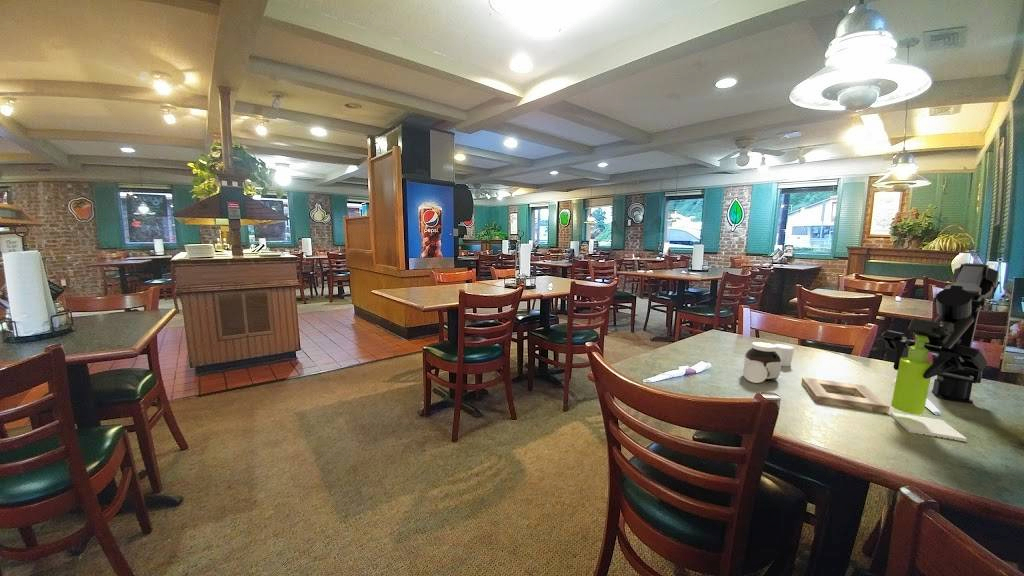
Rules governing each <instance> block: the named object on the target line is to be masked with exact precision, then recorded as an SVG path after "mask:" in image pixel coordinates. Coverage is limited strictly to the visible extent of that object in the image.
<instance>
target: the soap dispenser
mask: <svg viewBox="0 0 1024 576" xmlns="http://www.w3.org/2000/svg"><path fill="white" fill-rule="evenodd" d="M914 334H915V333H914ZM915 337H916V338H915ZM915 337H914V338H915V340H914V341H915V346H910V347H909V352H908V357H904V358H900V362H899V367H898V370H897V373H896V379H895V383H894V390H893V394H892V399H891V404H890V406H891V407H892V408H894V409H895V410H898V411H901V412H903V413H906V414H907V413H908V414H910V415H923V414H924V411H925V408H926V401H927V399H928V392H929V388H930V383H931V378H932V377H930V378H928V379H925V378H924V377H923V375H924V373H925V372H926V370H927V369H928V368H929V367H930V366H931V365H932V364H933V362H930V361H927V360H928V357H929V356H928V355H929V352H928V351H929V350H928V349H926V348H925V347H924V346H925V342H927V343H929V339H928V337H927V336H925V335H917V334H915Z"/></svg>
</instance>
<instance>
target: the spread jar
mask: <svg viewBox="0 0 1024 576" xmlns="http://www.w3.org/2000/svg"><path fill="white" fill-rule="evenodd" d="M773 344H774V343H773ZM773 344H772V343H769V342H763V341H762V342H761V341H753V342H752V343H751V348H750V349H748V350H747V351H746V352H745V355H744V360H743V361H744V362H743V367H742V375H743V376H744V378H745V379H746V380H747V381H749V382H751V383H754V384H759V383H763V382H773V381H775V380H777V379H778V378H779V377H780V374H781V369H782V366H781V358H780V356H779V355H778V354H777V353H776V346H775V345H773Z"/></svg>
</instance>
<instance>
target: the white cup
mask: <svg viewBox="0 0 1024 576" xmlns="http://www.w3.org/2000/svg"><path fill="white" fill-rule="evenodd" d="M773 345H775V346H776V353H777V354H778V355H779V356H780V358H781V367H791V365H792V361H793V357H794V351H795V346H793V345H789V344H783V343H773Z"/></svg>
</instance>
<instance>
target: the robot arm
mask: <svg viewBox="0 0 1024 576" xmlns="http://www.w3.org/2000/svg"><path fill="white" fill-rule="evenodd" d="M989 266H990V265H989V264H986V263H973V262H972V263H971V262H970V263H969V262H965V263H961V264H960V267H956V268H955V269H954V270H953V274H952V278H951V279H952V280H951V282H952V284H947V285H945V287H944V288H943V290H941V291H938V292H937V293H936V295H935V296H934V304H936V313H937V315H938V316H937V317H936V318H935V319H934V321H932V320H928V319H921V318H915V317H914V318H913V317H912V319H911V322H910V324H909V326H908V327H907V331H911V332H913V333H914V334H913V337H914V339H916V337H915V334H917V335H925V336H927V337H928V339H929V343H927V342H925V346H924V347H925V348H926V349H928V350H929V351H928V353H931V354H935V357H934V361H933V362H932V365H931V366H930V367H929V368H928V369H927V370H926V372H925V373H924V375H923V377H924V378H925V379H928V378H930V377H931V378H934V377H935V376H937V378H934V380H933V386H932V387H933V388H932V389H931V393H933V394H935V395H936V396H938V397H939V398H941V399H942V400H948V401H954V402H961V403H970V404H973V403H974V401H973V400H972V399H971V394H972V388H973V384H974V385H975V384H981V382H982V378H983V376H982V375H983V371H984V369H985V368H986V367H988V365H987V364H988V361H987V359H986V358H985V356H984V354H983V353H982V351H981V350H980V349H979V348H975V347H973V341H974V336H975V332H976V328H977V324H978V319H979V315H980V312H981V311H980V310H981V309H983V308H984V306H986V305H987V302H988V300H987V298H989V297H990V296H991V295H992V293H993V290H994V288H997V287H998V283H999V278H1000V277H999V276H1000V274H999V273H1000V271H998V270H996V269H994V268H991V267H989ZM880 338H881V339H882V341H883V342H884V344H885V345H886V347H887V348H888V349H890V350H892V351H895V358H894V362H893V367H892V368H893V369H894V370H895V371H898V367H899V362H900V358H904V357H908V352H909V347H910V346H915V341H916V340H913V339H909V338H908V337H907V336H906V334H905V333H904V332H899V331H894V330H885V331H884V332H882V333H881V335H880Z"/></svg>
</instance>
